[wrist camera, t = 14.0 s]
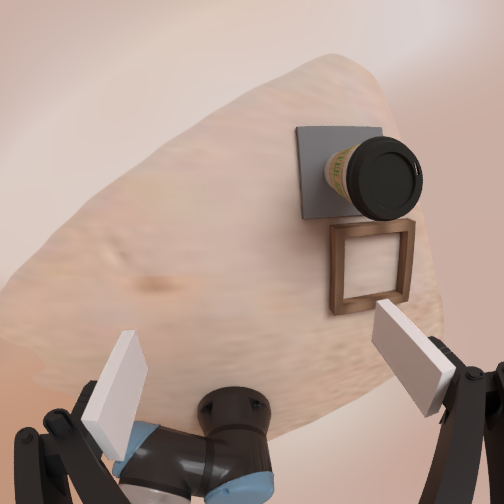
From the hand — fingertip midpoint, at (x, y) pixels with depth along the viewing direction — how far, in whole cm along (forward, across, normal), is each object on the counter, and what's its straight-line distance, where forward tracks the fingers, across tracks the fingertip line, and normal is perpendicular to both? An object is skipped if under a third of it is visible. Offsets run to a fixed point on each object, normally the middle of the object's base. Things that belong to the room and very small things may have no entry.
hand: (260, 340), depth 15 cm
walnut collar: (+32, +22, -10) cm, 40 cm away
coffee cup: (+31, +17, +6) cm, 36 cm away
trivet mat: (+32, +17, +6) cm, 36 cm away
